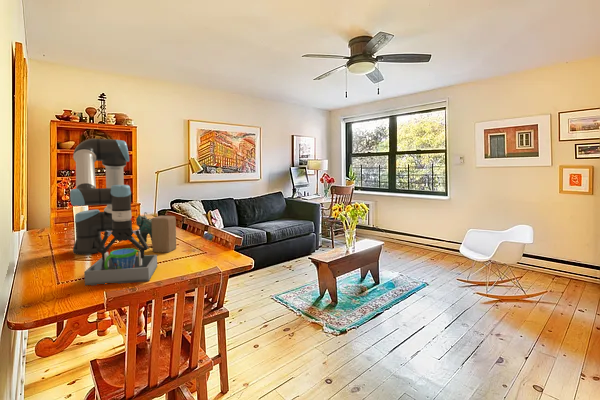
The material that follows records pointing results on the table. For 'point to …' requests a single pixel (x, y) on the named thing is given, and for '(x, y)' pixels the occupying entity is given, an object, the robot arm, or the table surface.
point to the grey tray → (121, 272)
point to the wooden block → (163, 233)
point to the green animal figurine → (144, 226)
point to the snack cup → (122, 258)
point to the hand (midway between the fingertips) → (124, 266)
